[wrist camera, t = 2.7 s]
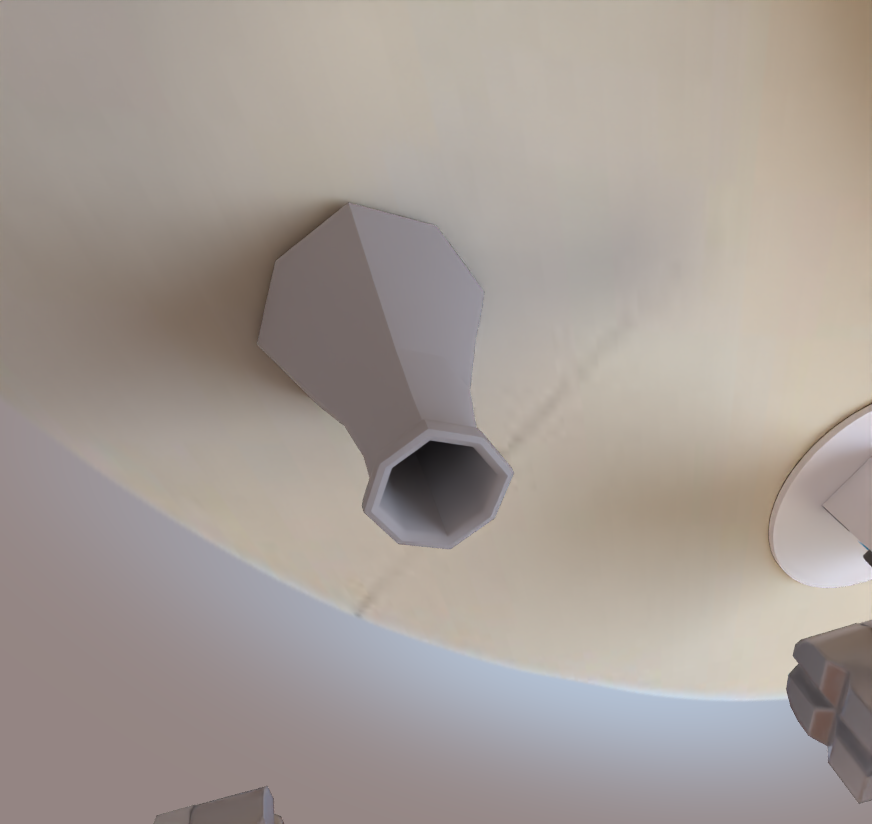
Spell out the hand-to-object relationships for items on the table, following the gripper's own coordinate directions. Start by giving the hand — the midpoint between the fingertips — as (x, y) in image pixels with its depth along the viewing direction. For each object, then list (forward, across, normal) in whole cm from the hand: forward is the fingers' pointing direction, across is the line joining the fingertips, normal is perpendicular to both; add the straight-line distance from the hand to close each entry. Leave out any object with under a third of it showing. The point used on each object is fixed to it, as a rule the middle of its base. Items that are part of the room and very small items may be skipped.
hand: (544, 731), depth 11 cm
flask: (+16, 0, 0) cm, 16 cm away
